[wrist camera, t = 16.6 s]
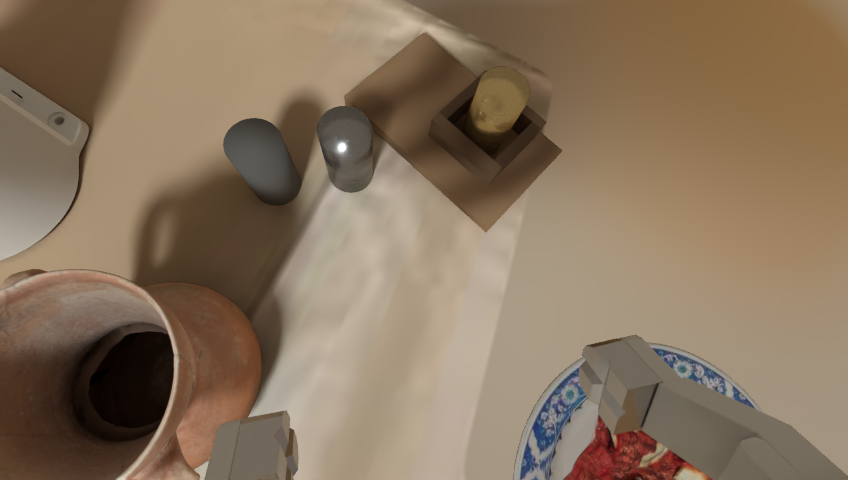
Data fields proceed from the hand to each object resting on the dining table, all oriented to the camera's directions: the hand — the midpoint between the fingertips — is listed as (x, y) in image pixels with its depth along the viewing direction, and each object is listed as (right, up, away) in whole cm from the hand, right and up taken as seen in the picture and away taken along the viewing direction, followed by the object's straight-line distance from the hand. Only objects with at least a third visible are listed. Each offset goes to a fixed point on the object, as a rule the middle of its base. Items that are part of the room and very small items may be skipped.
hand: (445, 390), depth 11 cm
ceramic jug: (-21, -7, +23) cm, 32 cm away
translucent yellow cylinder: (+5, +15, +30) cm, 34 cm away
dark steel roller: (-8, +11, +29) cm, 32 cm away
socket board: (+2, +16, +32) cm, 36 cm away
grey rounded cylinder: (-15, +9, +28) cm, 33 cm away
